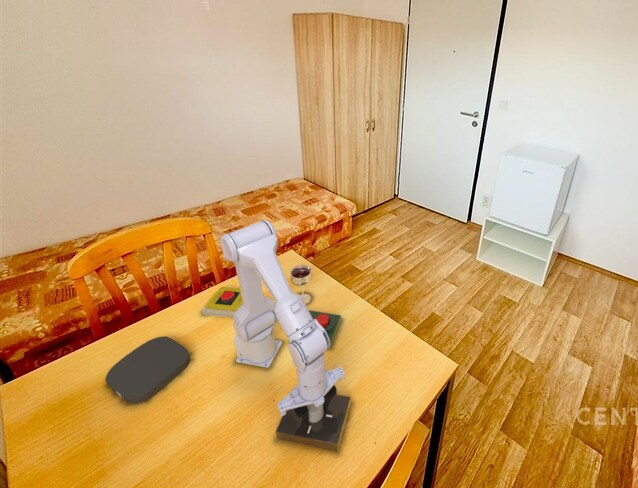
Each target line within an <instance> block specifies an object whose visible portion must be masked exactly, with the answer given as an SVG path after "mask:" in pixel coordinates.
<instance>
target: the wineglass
mask: <svg viewBox="0 0 638 488" xmlns="http://www.w3.org/2000/svg"><path fill="white" fill-rule="evenodd" d="M312 270H313V269H312V268H311V266H309V265H307V264H299V265H296V266H294V267H293V268H291V270H290V272H289V274H290V277H289V278H290V279H289V280H290V282H291V283H292V285H293V286H296V287H300V289H301V294H299V295H300V296H301V298H302V299H303V301H304V303H305V305H306V304H308V303H309V302H310V301H311V299H312V297H311V295H309V294H308V293H305V289H304V288H305V286H307V285H309V284H310V283H311V281H312V278H313V273H312V272H313V271H312Z"/></svg>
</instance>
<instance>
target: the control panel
mask: <svg viewBox="0 0 638 488" xmlns="http://www.w3.org/2000/svg"><path fill="white" fill-rule="evenodd" d="M351 400H352V399H351V396H347V395H341V394H336V395H335V396H334V397H333V398H332V399H331V401H330V403H329V406H328V408H327V410H324V414H323V417H322V418H321V419H320V420H319V421H318V422H315V423H312V422H309V421H308V422H307V423H305V421H304V419H303V418H301V417H300V418H298V417H297V415H296V413H295V411H294V408H293V409H290V410H287V411H286V414H285V415H284V416H282V417H281V419H280V421H279V423H278V426H277V428H276V430H275V434H276V439H277V440H280V441H285V442H290V443H295V444H300V445H304V446H309V447H314V448H319V449H322V450H323V449H324V450H329V451H333V452H339V448H340V446H341V442H342V437H343V434H344V431H345V427H346V423H347V421H348V420H347V419H348V416H349V412H350V409H351V402H352V401H351Z"/></svg>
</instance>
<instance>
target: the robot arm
mask: <svg viewBox="0 0 638 488" xmlns="http://www.w3.org/2000/svg"><path fill="white" fill-rule="evenodd" d="M219 241H220V245H221V246H220V247H221V250H222V254H223V258H224V259H225V261H228V262H231V263H234V267H235V272H236V276H237V280H238V286H239V288H240V291H241V295H242V300H243V304H242V305H241V306H240V307H239V308H238V309H237V311H236V312H235V313H234V314H233V315H234V317H232V318H233V324H232V325H233V329H234V331H235V336H234V340H233V341H234V348H235V352H236V356H237V357H236V360H235V362H236V363H239V364H245V365H250V366H256V367H260V368H261V367H262V368H270V367H271V365H272V363H273V361H274V359H275V357H276V355H277V354H278V351H279V350H280V348H281V346H282V344H283V341H281V340H278V339H277V340H276V338H275V332H274V329H276V324H277V323H278V322H279V325H280V327H281V328H282V331H283V333H284V334H285V336H286V338H287V340H288V343H289V344H287V349H288V351H289V354H290V357H291V360H292V363H293V365H294V367H295V368H296V375H297V377H296V378H297V385H296V386H294V387H293V389H292V390H290V392H289V393H288V394H287V395H286V396H285V397H284V398H282V399H281V400H280V401H279V402H277V409H278V411H279V415H280V418H282V416H284V415H285V414H286V411H287V410H290V409H293V408H294V411H295V413H296V415H297V417H298V418H300V417H301V418H303V419H304V421H305V423H307V422H308V421H309V419H308V412H309V410H308V408H307V406H306V405H309V404H314V405H315V406H316V407H318V406H320V405H321V404H323V403H324V410H327V408H328V406H329V403H330V401H331V399H332V398H333V397H334V396H335V395H336V394H337V393H338V391H337V390H338V389H337V386H336V385H335V384H336V383H337V382H338V381H343V380H344V379H345V378H346V373H345V371H344V369H343V367H342V366H341V365H340V366H338V367H336V368H333V369H329V370H326V357H325V356H326V355H325V354H326V353H325V352H326V351H327V350H328V349H329V347H330V340H329V337H328V335H327V333H326V331H325V330H324V328H323V327H322V326H321V325H320V324H319V323H318V321H317V320H316V319H314V320H313V318H312V316H311V314H310V312H309V311H308V310H309V308H308V307H307V305H306V304H305V303H304V301H303V299H302V298H301V296H300V295H301V294H299V293H295V292H293V291H292V289H291V286H290V284H289V282H288V279H287V277H286V275H285V272H284V270H283V267H282V265H281V263H280V260H279V258H278V255H277V254H276V253H277V251H278V246H279V242H278V234H277V231H276V228H275V227H274V225H273V223H272V222H270V221H269V220H267V219H262V220H260V221H259V222H255V223H253V224H251V225H250V224H249V225H248V226H245V227H242V228H240V229H237V230H234V231H232V232H229V233H224V234H222V235H221V236H220V239H219ZM262 283H263V284H264V286H265V288H266V289H267V291H268V292H269V294H270V296H271V297H272V298H273V299H271V298H270V297H269V296H268V295H264V291H263V284H262ZM273 300H274V301H275V302H274V301H273ZM337 395H338V394H337Z"/></svg>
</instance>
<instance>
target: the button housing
mask: <svg viewBox="0 0 638 488" xmlns="http://www.w3.org/2000/svg"><path fill="white" fill-rule="evenodd" d="M308 311H309V312H310V314H311V316H312V318H313V320H314V319H317V317H318V316H319V315H321V314H326V315H328V317H329V324H328V325H327V326H326V327H324V330H325V331H326V333H327V335H328V337H329V340H330V347H329V348H331V347H332V345H333V343H334V340H335V337H336V335H337V331H338V330H339V326H340V324H341V321H342V316H341V315H340V314H334V313H328V312H322V311H316V310H309V309H308ZM329 348H328V349H329Z"/></svg>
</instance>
